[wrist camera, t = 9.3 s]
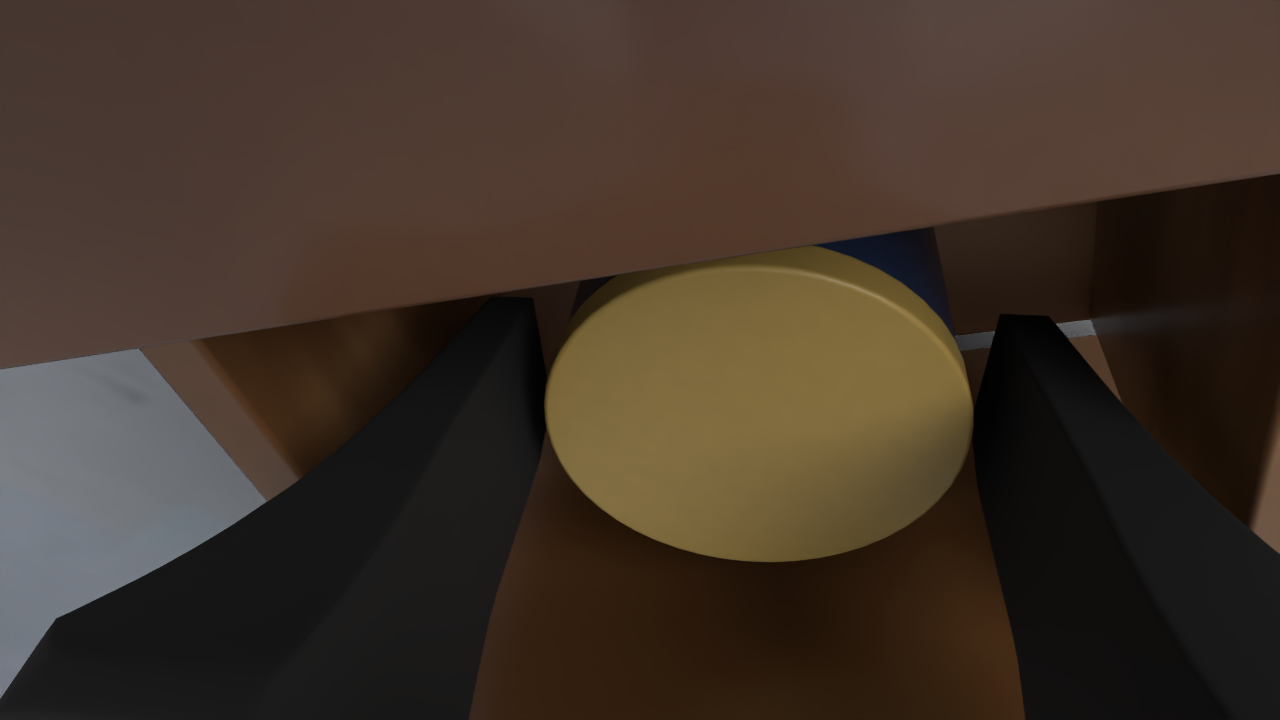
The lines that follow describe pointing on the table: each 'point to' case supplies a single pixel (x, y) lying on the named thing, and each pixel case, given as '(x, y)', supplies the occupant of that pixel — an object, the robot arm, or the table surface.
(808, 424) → the tin
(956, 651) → the drawer
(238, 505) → the table surface
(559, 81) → the cabinet
